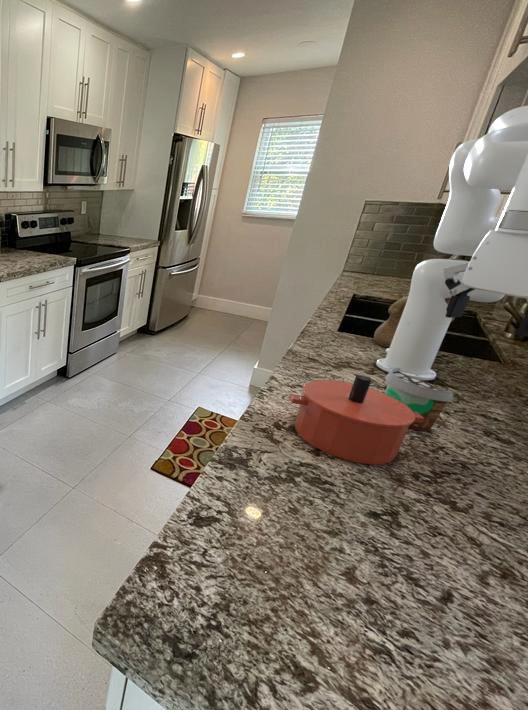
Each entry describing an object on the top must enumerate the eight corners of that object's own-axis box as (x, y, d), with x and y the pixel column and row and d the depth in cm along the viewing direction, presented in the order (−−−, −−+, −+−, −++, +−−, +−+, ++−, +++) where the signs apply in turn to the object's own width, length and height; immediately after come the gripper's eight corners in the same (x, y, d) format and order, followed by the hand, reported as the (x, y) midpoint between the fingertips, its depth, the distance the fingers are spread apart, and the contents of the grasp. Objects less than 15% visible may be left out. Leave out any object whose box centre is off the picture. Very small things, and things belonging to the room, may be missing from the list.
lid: (290, 379, 92) (297, 354, 90) (384, 392, 87) (394, 366, 85) (318, 419, 76) (328, 390, 74) (435, 438, 71) (449, 408, 69)
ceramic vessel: (419, 341, 138) (456, 252, 128) (460, 367, 119) (507, 265, 108) (364, 335, 143) (394, 248, 132) (394, 359, 124) (433, 260, 113)
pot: (271, 408, 95) (280, 376, 92) (385, 426, 89) (399, 392, 86) (293, 451, 80) (305, 413, 77) (431, 475, 74) (450, 436, 71)
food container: (359, 405, 97) (373, 367, 94) (383, 404, 98) (398, 366, 94) (410, 435, 86) (428, 393, 82) (436, 434, 86) (456, 392, 83)
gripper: (636, 230, 58) (574, 342, 64) (481, 219, 73) (443, 310, 79) (602, 230, 56) (542, 345, 62) (450, 218, 72) (414, 311, 78)
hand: (486, 325), depth 71 cm, fingers open, 9 cm apart
